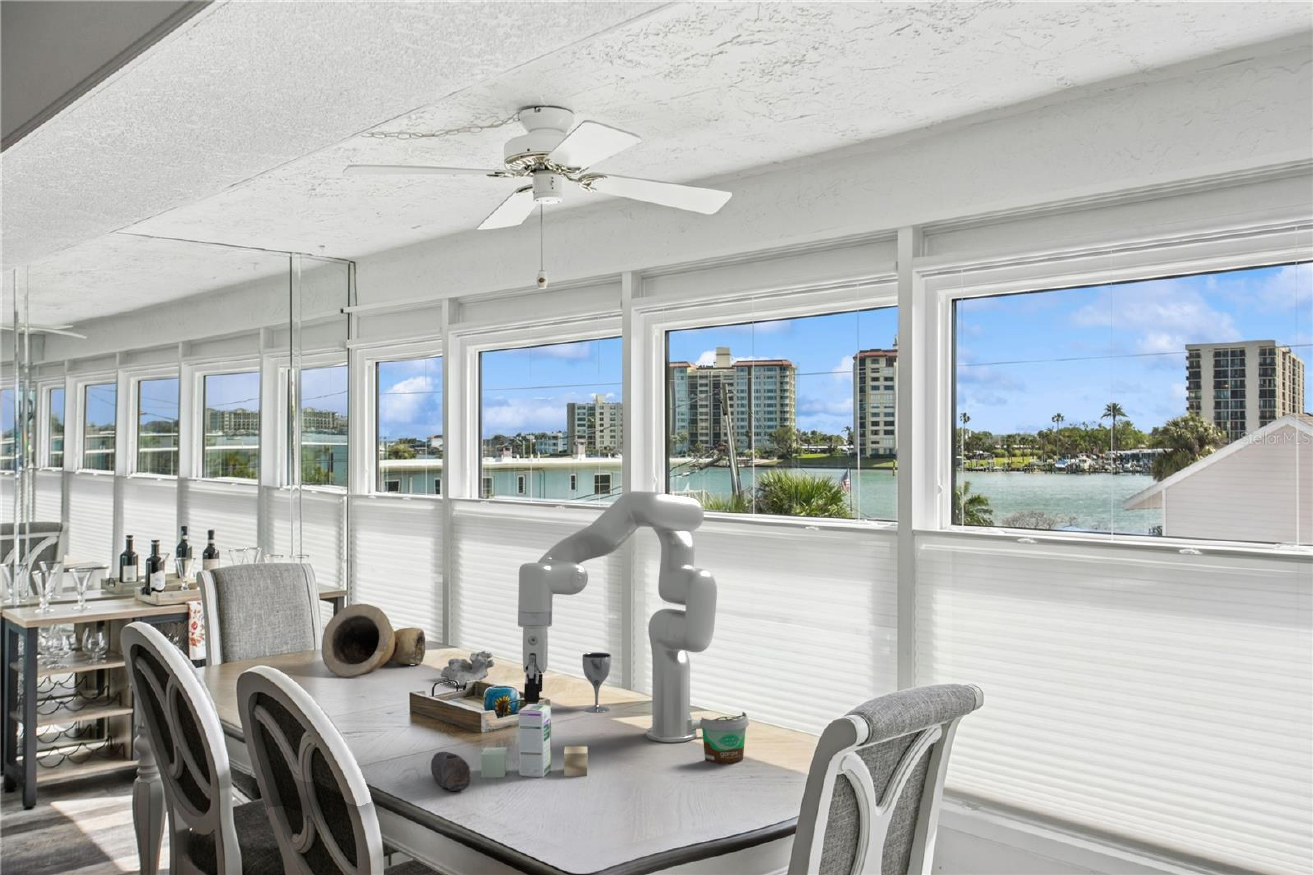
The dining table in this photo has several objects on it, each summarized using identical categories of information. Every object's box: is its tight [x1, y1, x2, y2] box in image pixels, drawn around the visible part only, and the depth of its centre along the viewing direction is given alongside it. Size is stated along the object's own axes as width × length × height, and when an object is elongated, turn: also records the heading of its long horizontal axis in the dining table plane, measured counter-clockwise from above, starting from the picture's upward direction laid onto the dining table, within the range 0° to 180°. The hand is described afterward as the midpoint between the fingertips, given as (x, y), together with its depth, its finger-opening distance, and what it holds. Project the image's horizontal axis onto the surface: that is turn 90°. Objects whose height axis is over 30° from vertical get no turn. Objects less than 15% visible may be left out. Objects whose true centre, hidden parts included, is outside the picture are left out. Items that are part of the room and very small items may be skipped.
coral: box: [440, 650, 495, 687], centre depth 301 cm, size 17×14×10 cm
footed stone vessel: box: [320, 603, 426, 678], centre depth 322 cm, size 23×29×30 cm
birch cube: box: [563, 746, 588, 777], centre depth 214 cm, size 5×5×5 cm
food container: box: [699, 711, 750, 765], centre depth 222 cm, size 12×6×10 cm, turn 117°
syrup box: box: [518, 703, 552, 778], centre depth 213 cm, size 6×6×14 cm
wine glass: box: [582, 651, 612, 714], centre depth 268 cm, size 8×8×15 cm
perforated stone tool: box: [430, 751, 472, 792], centre depth 205 cm, size 15×5×7 cm, turn 33°
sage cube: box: [480, 747, 508, 778], centre depth 213 cm, size 5×5×5 cm
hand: (533, 696), depth 213 cm, fingers open, 9 cm apart
